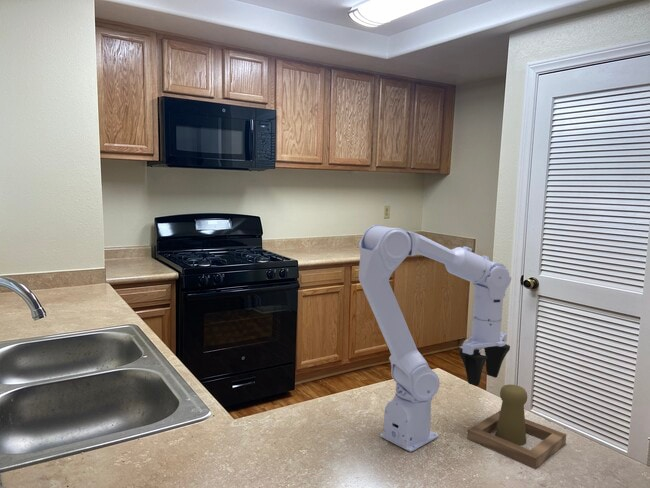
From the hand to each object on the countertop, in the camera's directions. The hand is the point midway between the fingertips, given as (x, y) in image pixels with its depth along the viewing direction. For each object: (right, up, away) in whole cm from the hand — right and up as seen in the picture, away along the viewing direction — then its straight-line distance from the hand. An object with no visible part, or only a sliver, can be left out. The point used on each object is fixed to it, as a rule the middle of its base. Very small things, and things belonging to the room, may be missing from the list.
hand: (482, 380), depth 102 cm
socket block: (+5, -11, -5) cm, 13 cm away
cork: (+4, -11, -4) cm, 13 cm away
